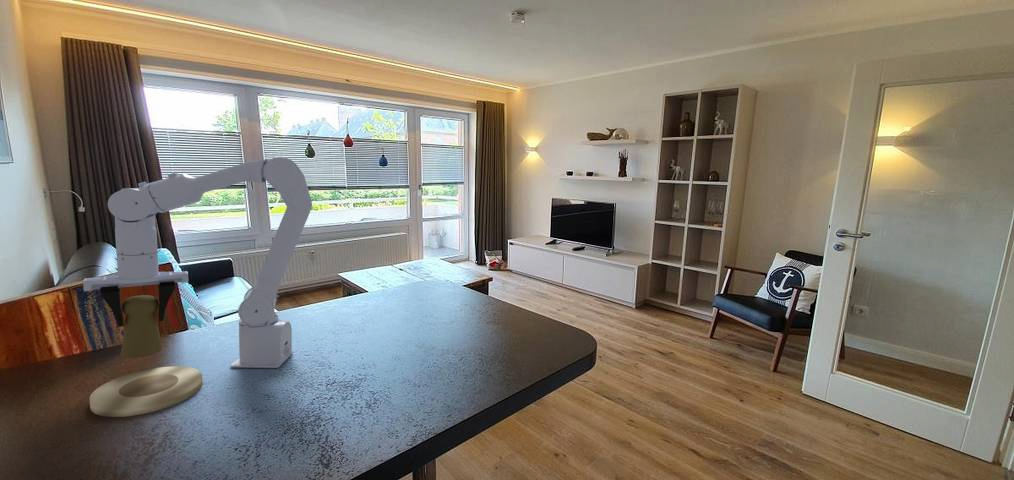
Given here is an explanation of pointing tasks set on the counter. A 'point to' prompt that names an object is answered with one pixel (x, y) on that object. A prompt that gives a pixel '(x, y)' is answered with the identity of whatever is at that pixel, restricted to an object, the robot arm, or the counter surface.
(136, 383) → the birch stand
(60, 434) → the counter surface
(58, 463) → the counter surface
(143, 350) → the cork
